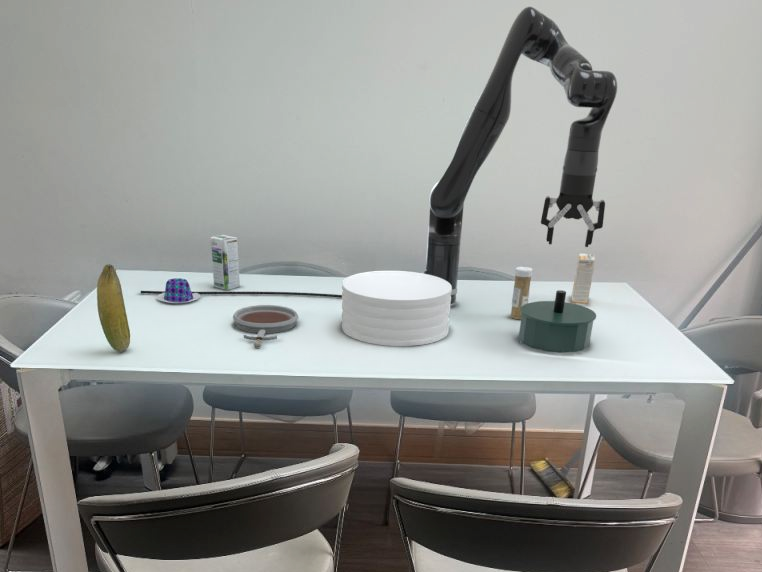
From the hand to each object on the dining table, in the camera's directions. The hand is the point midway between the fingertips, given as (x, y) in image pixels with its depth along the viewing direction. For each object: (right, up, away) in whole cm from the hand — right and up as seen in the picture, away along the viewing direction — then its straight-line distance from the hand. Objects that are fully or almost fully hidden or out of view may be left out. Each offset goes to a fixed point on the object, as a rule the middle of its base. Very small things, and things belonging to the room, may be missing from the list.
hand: (568, 245), depth 182 cm
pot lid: (0, -14, +9) cm, 17 cm away
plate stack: (-41, -16, +18) cm, 48 cm away
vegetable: (-106, -26, -3) cm, 110 cm away
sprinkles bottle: (-7, -10, +30) cm, 32 cm away
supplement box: (+14, -1, +46) cm, 48 cm away
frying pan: (-75, -17, +13) cm, 78 cm away
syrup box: (-91, +4, +47) cm, 102 cm away
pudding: (-102, -4, +34) cm, 108 cm away
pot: (-1, -21, +13) cm, 24 cm away
